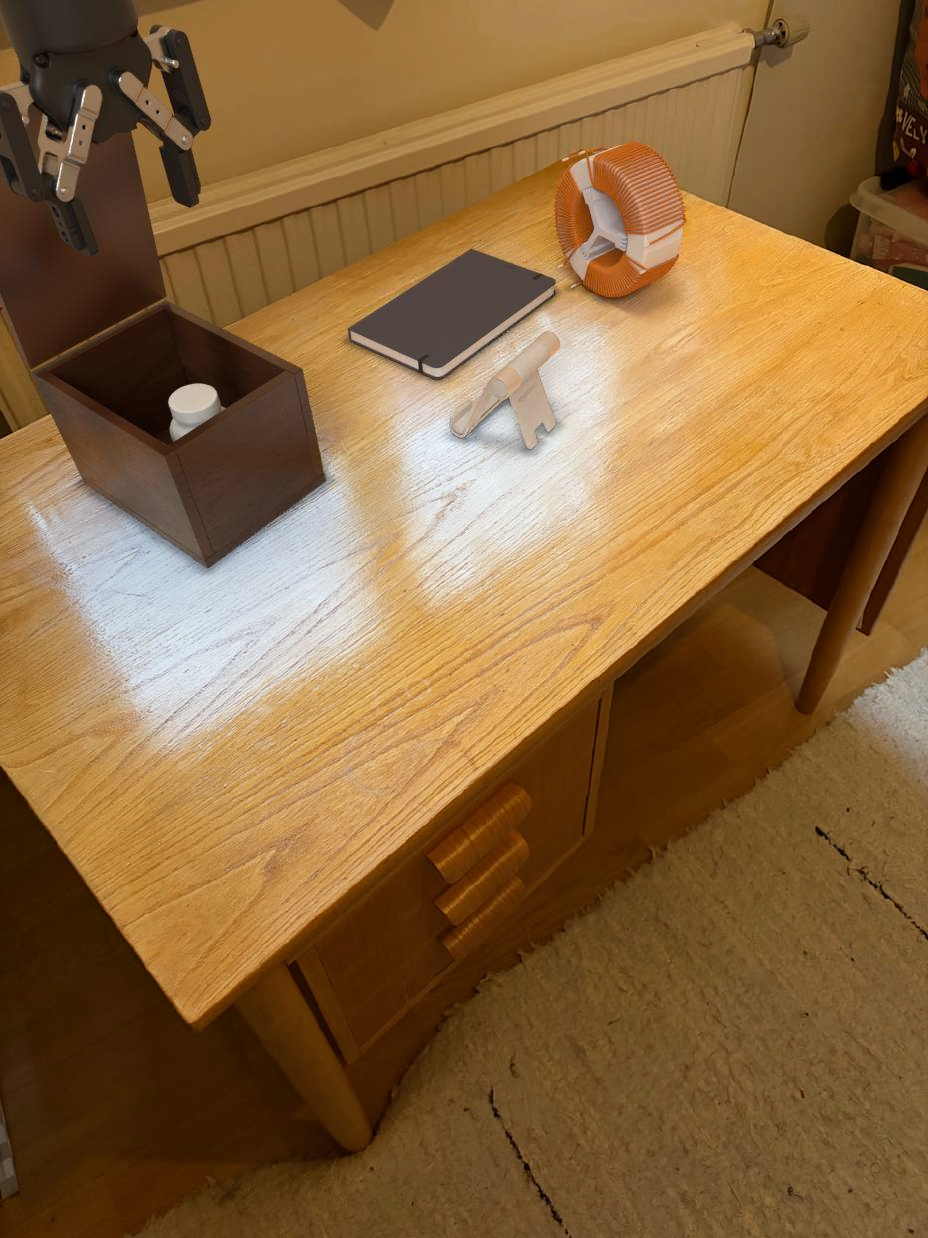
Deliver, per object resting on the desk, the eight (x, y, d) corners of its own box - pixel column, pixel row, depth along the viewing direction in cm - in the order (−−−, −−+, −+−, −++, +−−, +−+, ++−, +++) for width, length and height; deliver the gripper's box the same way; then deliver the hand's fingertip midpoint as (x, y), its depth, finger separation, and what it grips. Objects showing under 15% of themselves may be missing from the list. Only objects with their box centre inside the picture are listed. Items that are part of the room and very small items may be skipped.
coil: (588, 253, 105) (598, 120, 94) (679, 303, 97) (702, 164, 86) (544, 272, 103) (549, 138, 92) (634, 326, 95) (652, 186, 84)
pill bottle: (229, 460, 81) (201, 369, 74) (264, 486, 79) (238, 395, 71) (180, 488, 79) (146, 398, 72) (213, 516, 76) (182, 426, 69)
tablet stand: (499, 388, 89) (499, 313, 82) (566, 414, 85) (571, 338, 79) (449, 434, 84) (445, 358, 78) (518, 463, 81) (519, 386, 75)
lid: (118, 71, 63) (73, 43, 64) (-62, 138, 56) (-108, 105, 58) (167, 296, 79) (129, 270, 80) (30, 369, 72) (-8, 339, 73)
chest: (326, 480, 80) (303, 368, 71) (207, 568, 74) (165, 457, 65) (201, 409, 88) (165, 299, 79) (83, 482, 82) (30, 372, 72)
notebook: (471, 260, 105) (349, 341, 95) (471, 247, 104) (347, 328, 94) (558, 292, 100) (438, 381, 90) (559, 279, 99) (437, 368, 88)
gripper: (112, -98, 53) (185, 176, 66) (-111, -42, 47) (18, 252, 59) (189, -83, 50) (251, 203, 63) (-38, -21, 43) (82, 286, 56)
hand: (138, 226), depth 61 cm, fingers open, 8 cm apart
